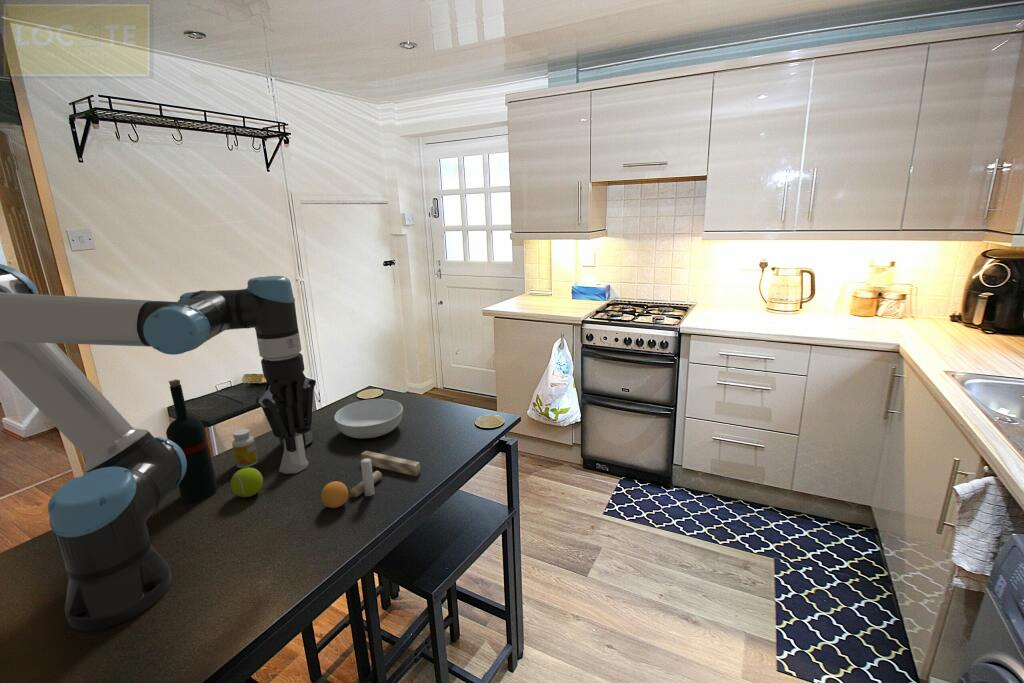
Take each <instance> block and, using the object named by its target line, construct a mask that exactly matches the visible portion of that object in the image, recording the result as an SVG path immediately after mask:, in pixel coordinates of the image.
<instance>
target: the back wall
mask: <svg viewBox="0 0 1024 683" xmlns="http://www.w3.org/2000/svg"><path fill="white" fill-rule="evenodd" d="M360 459H361V460H363V459H371V465H372V467H375V468H378V467H379V469H383V470H387V469H388V471H391V470H392V472H395V471H396V473H400V474H405V475H409V476H412V475H413V477H417V476H419V475H420V474H421V462H420V461H415V460H410V459H405V458H400V457H397V456H392V455H388V454H383V453H378V452H374V451H369V450H365V451H363V452H362V453H360ZM419 473H420V474H419Z"/></svg>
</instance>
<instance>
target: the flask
mask: <svg viewBox="0 0 1024 683" xmlns="http://www.w3.org/2000/svg"><path fill="white" fill-rule="evenodd" d="M309 464H310V463H309V461H308V459H307V458H306V463H304V464H303V465H297V464H293V463H291V457H290V452H289V451H287V449H286V443H285V439H284V446H283V454H282V458H281V461H280V465H279V470H278V472H279V473H282V474H285V475H288V474H298V473H299V472H302V471H303V470H305V469H307V468H308V466H309Z"/></svg>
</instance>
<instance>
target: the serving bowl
mask: <svg viewBox="0 0 1024 683" xmlns="http://www.w3.org/2000/svg"><path fill="white" fill-rule="evenodd" d="M403 415H404V406H403V405H402V404H401V402H399V401H396V400H392V399H390V398H389V399H388V398H371V399H363V400H360V401H355V402H352V403H349V404H347V405H344V406H343V407H341V408H340V409H338V410H337V411H336V413H335V414H334V416H333V417H334V422H335V425H336V427H337V428H338V430H339V431H340V432H341V433H342V434H343V435H345V436H347V437H350V438H355V439H372V438H377V437H381V436H384V435H387V434H389V433H390V432H392V431H394V430H395V429H396V428H397V427H398V426H399V424H400V422H401V421H402V419H403Z"/></svg>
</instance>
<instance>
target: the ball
mask: <svg viewBox="0 0 1024 683" xmlns="http://www.w3.org/2000/svg"><path fill="white" fill-rule="evenodd" d="M348 489H349V488H348V487H347V486H346V484H345V483H343V482H341V481H339V480H338V481H336V480H335V481H331V482H329V483H327V484H326V485H325V486H324V487H323V488H322V490H321V495H320V498H321V501H322V503H323V505H325V507H328V508H330V509H337V508H339V507H341V506H343V505H344V504H345V503H346V501H347V500H348V497H349V490H348Z"/></svg>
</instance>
